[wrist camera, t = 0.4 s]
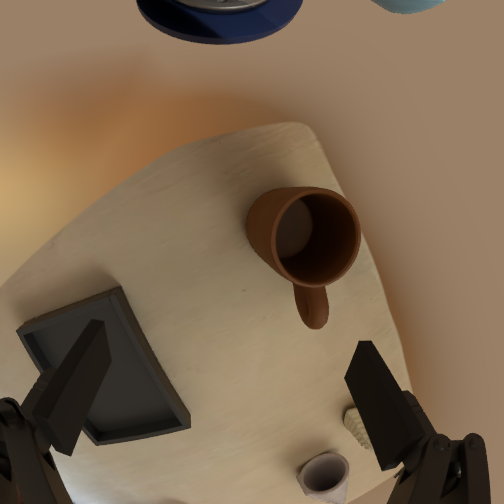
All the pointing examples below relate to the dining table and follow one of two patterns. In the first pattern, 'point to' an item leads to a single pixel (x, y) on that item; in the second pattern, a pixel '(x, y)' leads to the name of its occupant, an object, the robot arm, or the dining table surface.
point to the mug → (306, 242)
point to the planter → (325, 478)
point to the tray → (111, 369)
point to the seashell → (357, 428)
